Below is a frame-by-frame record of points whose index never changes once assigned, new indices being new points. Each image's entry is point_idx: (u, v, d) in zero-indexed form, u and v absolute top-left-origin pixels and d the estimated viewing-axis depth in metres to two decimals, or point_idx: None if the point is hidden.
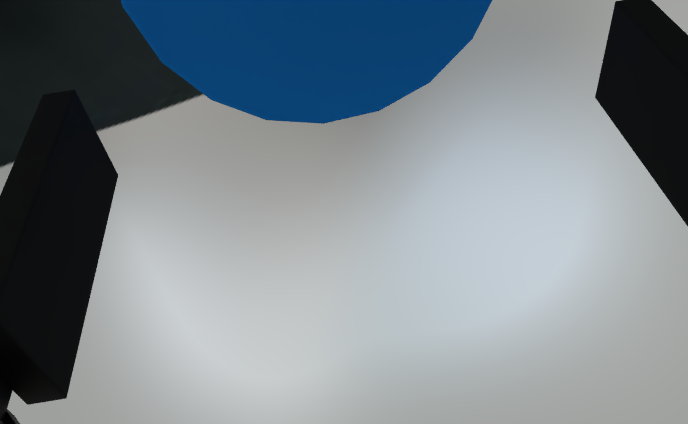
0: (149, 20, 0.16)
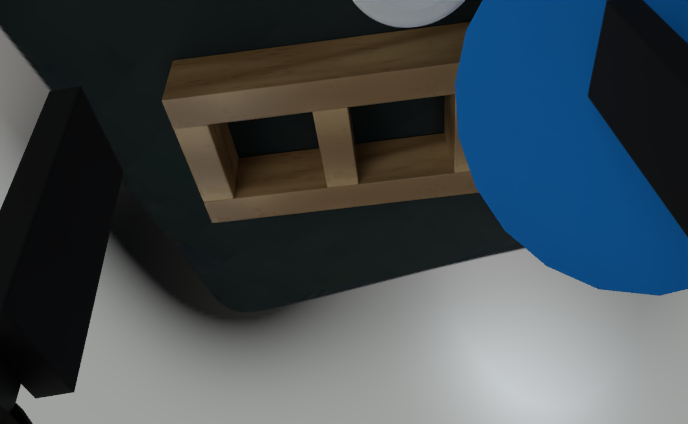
0: (465, 102, 0.20)
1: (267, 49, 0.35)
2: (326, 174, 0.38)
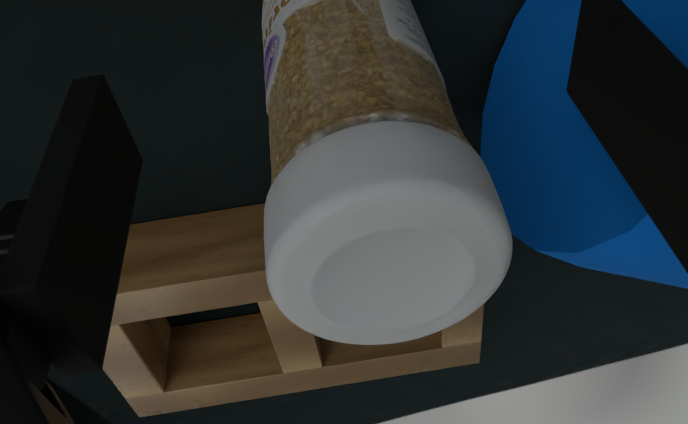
0: (496, 80, 0.23)
1: (196, 216, 0.27)
2: (281, 361, 0.29)
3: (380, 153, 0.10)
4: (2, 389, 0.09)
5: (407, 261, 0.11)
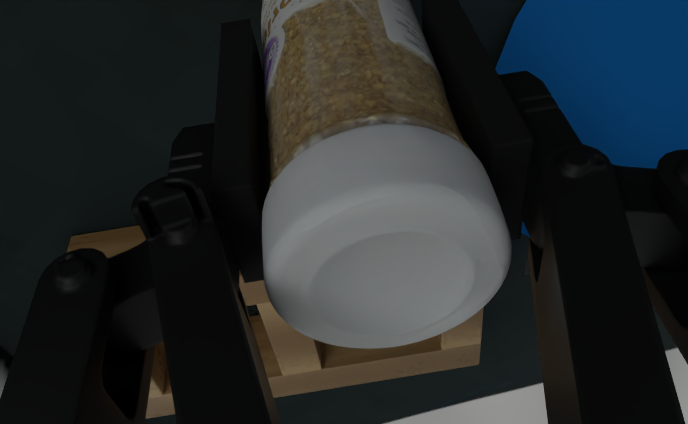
0: None
1: None
2: (280, 363, 0.29)
3: (379, 157, 0.10)
4: (213, 287, 0.10)
5: (406, 265, 0.10)
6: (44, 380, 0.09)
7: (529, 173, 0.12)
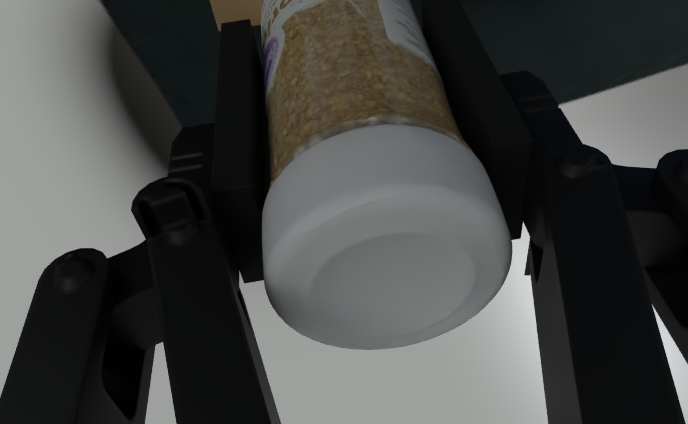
0: None
1: None
2: None
3: (379, 157, 0.10)
4: (212, 287, 0.10)
5: (406, 265, 0.10)
6: (44, 380, 0.09)
7: (530, 173, 0.12)
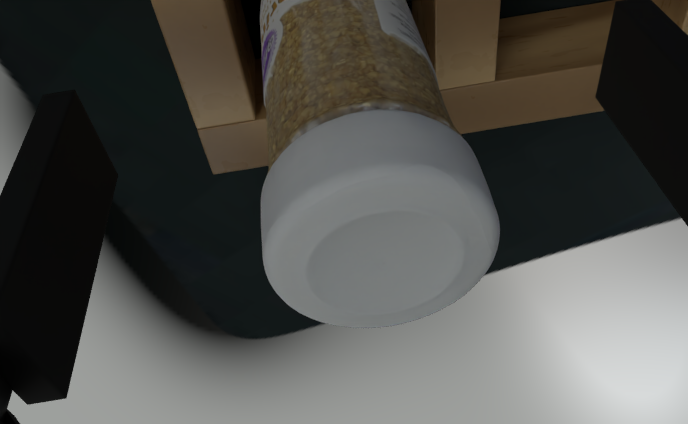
0: None
1: None
2: (439, 59, 0.19)
3: (372, 139, 0.10)
4: None
5: (398, 244, 0.11)
6: None
7: None
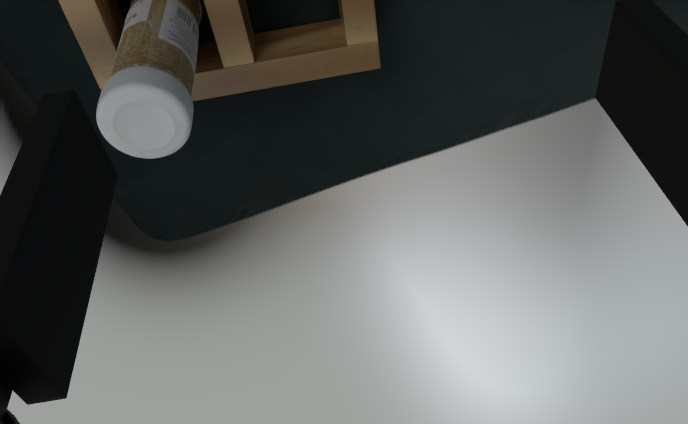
0: None
1: None
2: (220, 51, 0.38)
3: (130, 75, 0.29)
4: None
5: (145, 116, 0.30)
6: None
7: None
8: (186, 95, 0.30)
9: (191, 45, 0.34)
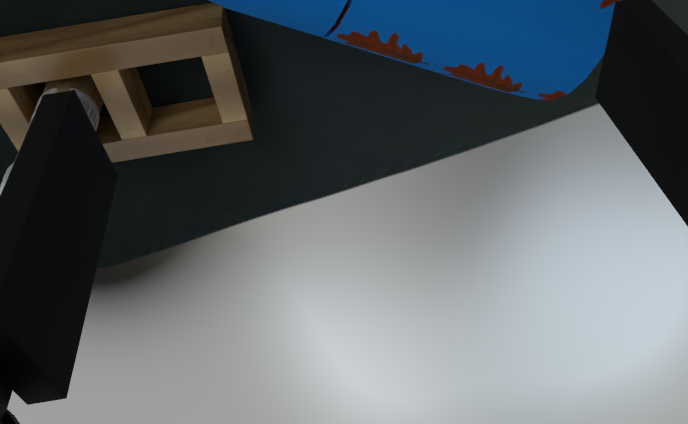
0: None
1: (58, 28, 0.45)
2: (117, 128, 0.47)
3: None
4: None
5: None
6: None
7: None
8: None
9: None
